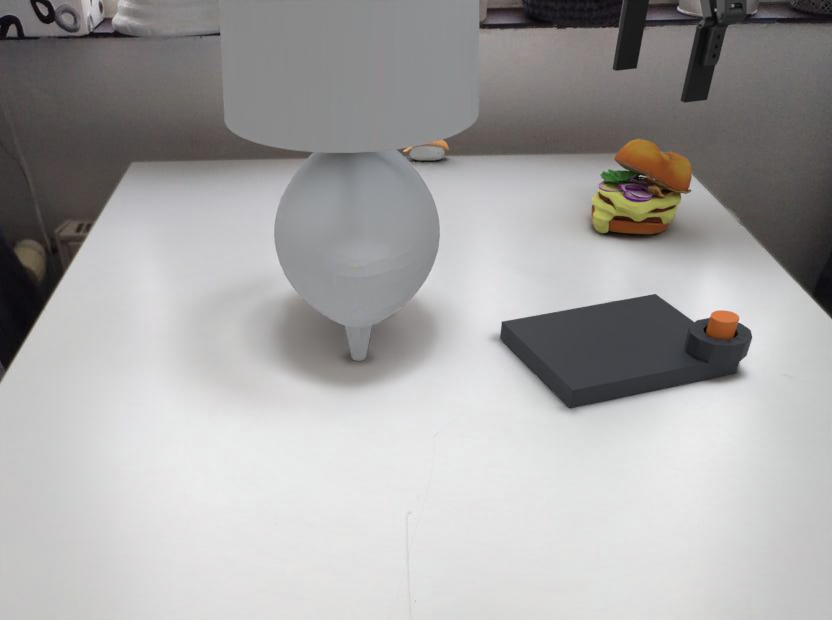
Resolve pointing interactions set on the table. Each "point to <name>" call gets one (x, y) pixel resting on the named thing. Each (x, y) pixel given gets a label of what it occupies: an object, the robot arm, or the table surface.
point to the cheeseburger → (641, 190)
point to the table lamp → (352, 136)
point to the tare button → (722, 324)
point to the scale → (621, 349)
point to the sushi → (428, 151)
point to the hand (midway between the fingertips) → (657, 84)
